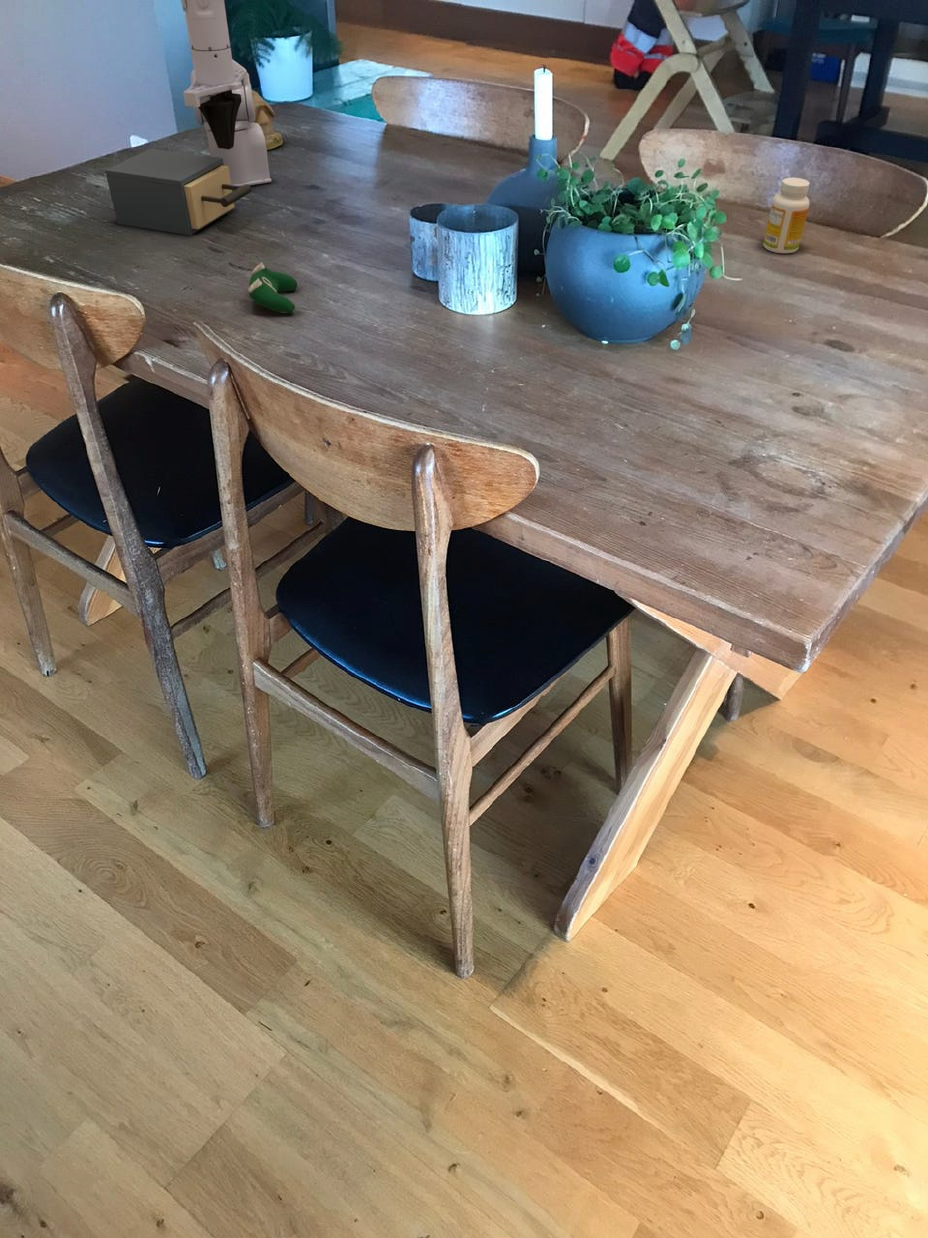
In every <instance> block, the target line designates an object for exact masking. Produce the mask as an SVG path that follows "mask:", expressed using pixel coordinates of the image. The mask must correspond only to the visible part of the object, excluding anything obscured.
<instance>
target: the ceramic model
mask: <svg viewBox="0 0 928 1238" xmlns="http://www.w3.org/2000/svg"><path fill="white" fill-rule="evenodd" d="M251 90H252V97H253V105H254V113H255V120H254V121H253V123H258V124H259V125H260V127H261V129H262V131H263V134H264V137H265V142H266V149H267V151H268V150H272V149H275V148H277V147H279V146H281V145H283V139H282V138H283V136H282V134H281V133H279V132H278V131H276V130H274V127H273V118H275V117H276V114H275V111H274V110H273V108H272V107H271V105H270V104H269V103H268V102H267V101H266V100H265V99H263V97H262V96H260V94H259V92H258V91H255V90H253V89H251ZM249 123H250V122H249Z"/></svg>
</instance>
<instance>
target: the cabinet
mask: <svg viewBox="0 0 928 1238" xmlns="http://www.w3.org/2000/svg"><path fill="white" fill-rule="evenodd" d="M222 165H223V166H224V164H223V158H217V157H210V155H209V156H208V155H203V154H196V153H195V154H194V153H186V152H182V151H181V152H180V151H172V150H165V149H158V148H149V149H146V150H144V151H143V152H140V153H138V154H136V155H134V156H132V157H129V158H127V159H126V160H123V161H121V162H119V163H117V164H115V165H113V166H111V167H108V168H106V169H105V170H104V173H105V175H106V176H105V177H106V180H107V185H108V190H109V194H110V198H111V203H112V207H113V210H114V214H115V215H114V216H115V218H116V223H117V224H118V225H123V226H129V227H136V228H141V229H142V228H143V229H148V230H154V231H159V232H161V231H162V232H167V233H173V234H180V235H186V236H192V235H194V234H195V233H197V232H199V231H201V230H202V229H203V228H205V227H206V226H209V225H210V224H212V223H213V222H215V221H216V220H218V219H220V218H222V217H223V216H225V215H227V214H228V213H229V212H231V211H232V209H230V210H229V211H227V212H226V213H224V214H222V215H221V216H219V217H217V218H216V219H214V220H213V221H211V222H209V223H208V224H206V225H204V226H203V227H201V228H199V229H193V228H192V227H191V222H190V217H189V211H188V206H187V200H186V195H185V190H184V185H185V184H186V183H188V182H190V181H192V180H194V179H196V178H197V177H199V176H201V175H203V174H205V173H207V172H208V171H210V170H212V169H213V170H214V169H216V168H218V167H220V166H222Z"/></svg>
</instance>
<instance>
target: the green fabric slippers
mask: <svg viewBox="0 0 928 1238" xmlns="http://www.w3.org/2000/svg"><path fill="white" fill-rule="evenodd" d="M297 288H298V281H296V279H295V278H294V277H293V276H291V275H289V274H287V273H283V272H280V271H276V270H275V271H274V270H271V269H269V268H267V267H266V266H265V265H264V263H263V262H261V261H260V263H259V264H257V265H256V267H254V268H253V270H252V271H251V276H250V279H249V285H248V290H247V291H248V295H249V297H250V298H251V299H252V300H253V302H254V303H255V304H256V305H259V306H261V307H263V308H265V309H268V310H271V311H274V312H277V313H282V314H288V315H289V314H290V315H291V314H293V312H294V310H295V308H296V306H295V305H296V304H294V303H293V301H292V300H290V299H289V298H288V297H286V296H285V295H282V294H281V293H278V292H294V291H296V290H297Z"/></svg>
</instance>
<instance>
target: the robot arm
mask: <svg viewBox="0 0 928 1238" xmlns="http://www.w3.org/2000/svg"><path fill="white" fill-rule="evenodd" d="M180 2H181V7H182V11H183V12H184V13H185V15H184V16H185V17H184V18H185V23H186V29H187V34H188V41H189V46H190V54H191V59H192V65H193V69H192V70H191V73H190V74H191V75H189V76H190V82H191V85H190V86H189V88H187V89H186V90H184V91H182V95H183V101H184V106H185V107H186V108H187V107H188V108H193V112H194V116H195V120H196V122H197V123H198V124H199V125H200V126H204V131H205V132H206V137H207V143H208V151H209V156H210V157H217V158H223V164H224V166H228V167H229V174H230V180H231V185H235V186H243V185H245V184H248V185H249V186H250V187H251V186H255V185H256V186H257V185H262V184H268V183H272V182H273V179H272V178H271V174H270V165H269V158H268V157H269V156H268V150H267V149H266V142H265V137H264V134H263V131H262V129H261V127H260V125H259V124H258V123H253V121H254V120H255V113H254V105H253V97H252V90H253V89H252V84H251V79H250V74H249V73H248V71H247V69H246V68H245V67H244V66H242V65H241V64H239V62H237V61H235V60H234V59H233V55H232V47H231V41H230V33H229V26H228V21H227V12H226V5H225V0H180ZM249 122H250V123H249Z"/></svg>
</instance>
